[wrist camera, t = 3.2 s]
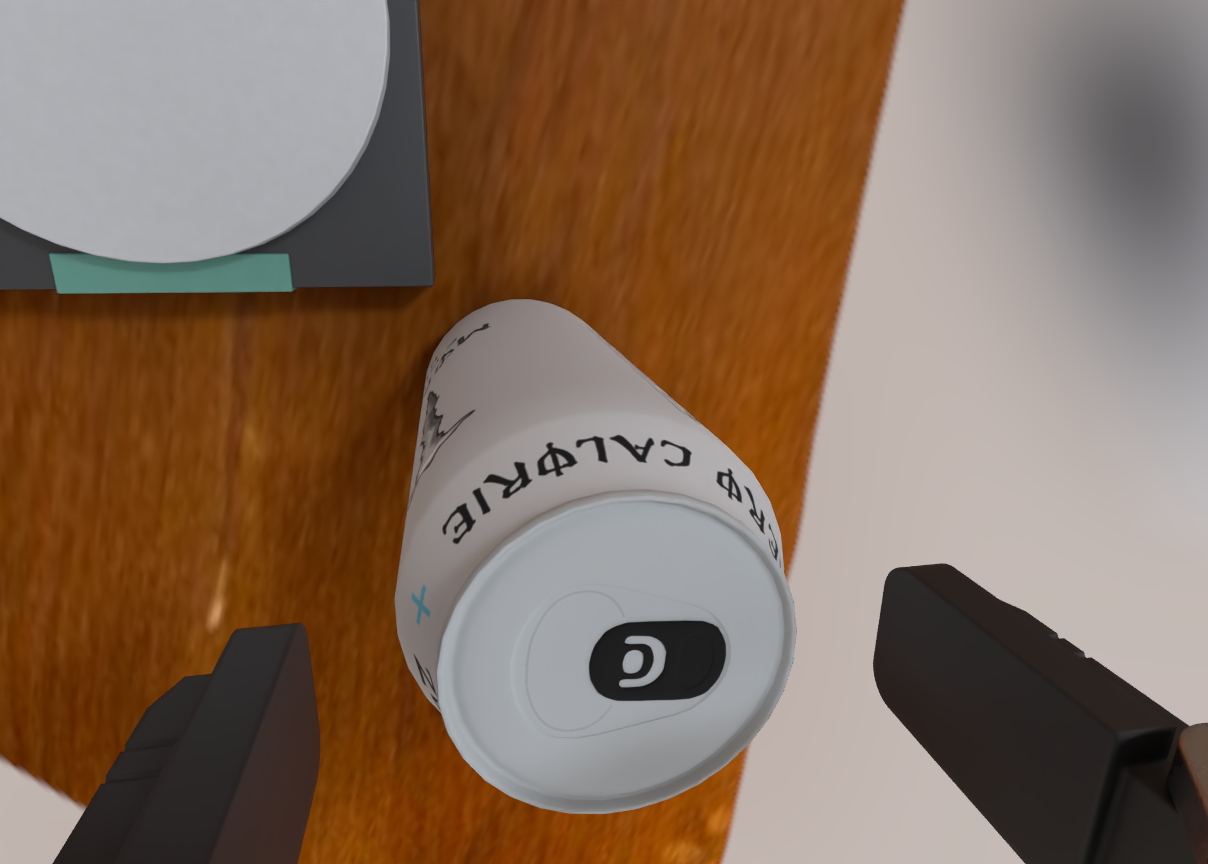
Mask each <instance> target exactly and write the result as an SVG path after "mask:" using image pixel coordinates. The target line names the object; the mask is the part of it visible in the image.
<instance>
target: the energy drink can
mask: <svg viewBox="0 0 1208 864" xmlns="http://www.w3.org/2000/svg"><path fill="white" fill-rule="evenodd" d="M395 610H396V622H397V634H398V638H399V641H400V644H401V647H402V650H403V653H404V656H405V659H406V662H407V665H408V668H409V670H410V671H411V673H412V675H413V676H414V678H415V680H416V681H417V683H418V684H419V686H420V688H421V689H422V691H423V693H424V694H425V696H426V697H427V699H428V700H429V701H430V702H431V703H432V704H433V705H434V706H435V707H436V708H437V709H438V710H439V711H440V712H441V714H442V718H443V721H444V724H445V727H446V730H447V733H448V734H449V736H450V738H451V739H452V741H453V743H454V744H455V746H456V748H457V749H458V751H459V752H460V754H461V756H462V757H463V759H464V760H465V761H466V762H467V763H468V764H469V765H470V766H471V767H472V768H473V769H474V770H475V771H476V772H477V773H478V774H479V775H480V776H481V777H482V778H483V779H484V780H485V781H487V782H489V783H490V784H492V785H493V786H495V787H496V788H498V789H500V790H501V791H503V792H504V793H506V794H507V795H509V796H511V797H513V798H515V799H518V800H521V801H523V802H526V803H529V804H531V805H534V806H537V807H539V808H543V809H549V810H554V811H560V812H566V813H571V814H607V813H613V812H620V811H626V810H632V809H638V808H641V807H644V806H647V805H651V804H654V803H657V802H660V801H663V800H667V799H669V798H671V797H674V796H676V795H678V794H680V793H682V792H684V791H686V790H688V789H690V788H692V787H694V786H696V785H698V784H700V783H701V782H703V781H704V780H706V779H707V778H708V777H710V776H711V775H713V774H714V773H716V772H717V771H719V770H720V769H722V768H723V767H725V766H726V765H727V764H728V763H729V762H730V761H731V760H732V759H733V758H735V757H736V756H737V755H738V754H739V753H740V752H741V751H742V750H743V749H744V748H745V747H746V746H747V745H748V744H750V742H751V741H752V740H753V738H754V737H755V736H756V735H757V733H758V732H759V731H760V729H761V728H762V727H763V725H764V724H765V723H766V722H767V720H768V719H769V718H770V716H771V714H772V712H773V710H774V708H775V707H776V704H777V703H778V701H779V699H780V697H781V695H782V693H783V692H784V688H785V686H786V683H787V680H788V677H789V674H790V671H791V667H792V664H793V660H794V651H795V643H796V633H797V628H796V619H795V608H794V601H793V598H792V595H791V592H790V589H789V586H788V583H787V580H786V577H785V574H784V564H783V554H782V544H781V534H780V530H779V527H778V524H777V521H776V518H775V515H774V512H773V509H772V506H771V503H770V500H769V499H768V497H767V495H766V494H765V492H764V491H763V489H762V487H761V486H760V484H759V482H758V481H757V479H756V477H755V476H754V474H753V472H752V471H751V470H750V469H749V468H748V467H747V466H746V465H745V464H744V463H743V462H742V461H741V460H740V459H739V458H738V457H737V456H736V455H735V454H734V453H733V452H732V451H731V450H730V449H729V448H728V447H727V446H726V445H725V444H724V443H722V442H721V441H720V440H719V439H718V438H717V437H716V436H714V435H713V434H712V433H711V432H710V431H709V430H708V429H706V428H705V427H704V426H703V425H702V424H701V423H700V422H698V421H697V420H696V419H695V418H694V417H693V416H692V415H690V414H689V413H688V412H687V411H686V410H685V409H683V408H682V407H681V406H680V405H679V404H678V403H677V402H675V401H674V400H673V399H672V398H671V397H670V396H669V395H667V394H666V393H665V392H664V391H663V390H662V389H661V388H659V387H658V386H657V385H656V384H655V383H654V382H653V381H651V380H650V379H649V378H648V377H647V376H646V375H645V374H643V373H642V372H641V371H640V370H639V369H638V368H637V367H635V366H634V365H633V364H632V363H631V362H630V361H629V360H627V359H626V358H625V357H624V356H623V355H622V354H621V353H619V352H618V351H617V350H616V349H615V348H614V347H612V346H611V345H610V344H609V343H608V342H607V341H606V340H604V339H603V338H602V337H601V336H600V335H599V334H598V333H596V332H595V331H594V330H593V329H592V328H591V327H590V326H588V325H587V324H586V323H585V322H584V321H583V320H581V319H580V318H578V317H577V316H575V315H574V314H572V313H571V312H569V311H568V310H565V309H563V308H561V307H558V306H556V305H553V304H551V303H547V302H542V301H537V300H532V299H511V300H506V301H501V302H497V303H492V304H490V305H487V306H485V307H482V308H480V309H478V310H475V311H473V312H472V313H470V314H469V315H468V316H466V317H465V318H463V319H462V320H460V321H459V322H457V323H456V324H455V325H454V327H453V328H452V329H451V330H450V331H449V332H448V333H447V334H446V335H445V336H444V337H443V339H442V340H441V342H440V343H439V345H438V347H437V348H436V350H435V351H434V353H433V356H432V358H431V361H430V364H429V367H428V369H427V374H426V380H425V387H424V394H423V401H422V408H421V415H420V422H419V429H418V436H417V444H416V451H415V458H414V465H413V472H412V479H411V486H410V493H409V500H408V507H407V515H406V522H405V529H404V536H403V543H402V550H401V557H400V564H399V571H398V579H397V586H396V593H395Z"/></svg>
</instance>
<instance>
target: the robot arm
mask: <svg viewBox="0 0 1208 864" xmlns="http://www.w3.org/2000/svg"><path fill="white" fill-rule="evenodd" d="M873 670H874V677H875V681H876V684H877V688H878V690H879V693H880V695H881V697H882V699H883V701H884V702H885V704H886V705H887V706H888V708H890V710H891V711H892V712H893V713H894V714H895V716H896V717H897V718H898V719H899V720H900V721H901V722H902V724H903V725H904V726H905V727H906V728H907V729H908V730H909V731H910V733H911V734H912V735H913V736H914V737H915V738H916V739H917V741H918V742H919V743H920V744H921V745H922V746H923V748H924V749H925V750H926V751H927V752H928V753H929V754H930V755H931V757H932V758H933V759H934V760H935V761H936V762H937V763H938V765H939V766H940V767H941V768H942V769H943V770H944V771H945V773H946V774H947V775H948V776H949V777H950V778H951V779H952V781H953V782H954V783H955V784H956V785H957V786H958V787H959V788H960V790H961V791H962V792H963V793H964V794H965V795H966V796H967V798H968V799H969V800H970V801H971V802H972V803H973V805H975V807H976V808H977V809H978V810H979V811H980V812H981V814H982V815H983V816H984V817H985V818H986V819H987V820H988V821H989V823H990V824H991V825H992V826H993V827H994V828H995V830H996V831H997V832H998V833H999V834H1000V835H1001V836H1002V838H1003V839H1004V840H1005V841H1006V842H1007V843H1008V844H1009V845H1010V846H1011V848H1012V849H1013V850H1014V851H1015V852H1016V853H1017V855H1018V856H1019V857H1020V858H1021V859H1022V860H1023V862H1024V863H1025V864H1208V723H1201V724H1195V725H1192V726H1189V725H1187V724H1186V723H1184V722H1183V721H1181V720H1180V719H1179V718H1177V717H1175V716H1174V715H1173V714H1171V713H1170V712H1169V711H1167V710H1166V709H1164V708H1163V707H1161V706H1160V705H1159V704H1157V703H1156V702H1154V701H1152V700H1151V699H1150V698H1149V697H1147V696H1146V695H1144V694H1143V693H1141V692H1140V691H1139V690H1137V689H1136V688H1134V687H1133V686H1131V685H1130V684H1129V683H1127V682H1126V681H1124V680H1123V679H1121V678H1120V677H1118V676H1117V675H1116V674H1114V673H1113V672H1111V671H1110V670H1109V669H1107V668H1106V667H1104V666H1103V665H1102V664H1100V663H1099V662H1097V661H1095V660H1094V659H1093V658H1086V657H1085V655H1084V652H1083V651H1081V650H1080V649H1079V648H1077V647H1076V646H1074V645H1073V644H1071V643H1070V642H1069V641H1067V640H1066V639H1064V638H1062V639H1059V638H1058V635H1057V633H1056V632H1054V631H1053V630H1052V629H1050V628H1049V627H1047V626H1046V625H1044V624H1043V623H1042V622H1040V621H1039V620H1037V619H1036V618H1034V617H1033V616H1032V615H1030V614H1029V613H1027V612H1026V611H1024V610H1021V609H1019V608H1017V607H1015V606H1012V605H1010V604H1008V603H1006V602H1003V601H1001V600H999V599H998V598H996V597H995V596H993V595H992V594H991V593H989V592H988V591H986V590H985V589H984V588H982V587H981V586H979V585H978V584H976V583H975V582H974V581H972V580H971V579H969V578H968V577H967V576H965V575H964V574H962V573H961V572H960V571H958V570H957V569H956V568H954V567H952V566H951V565H948V564H933V565H921V566H911V567H900V568H895V569H893V570H892V571H891V572H890V573H889V574H888V576H887V578H886V581H885V585H884V592H883V599H882V605H881V612H880V619H879V625H878V632H877V640H876V646H875V652H874V660H873ZM319 759H320V731H319V721H318V713H317V706H316V698H315V690H314V682H313V675H312V667H311V659H310V651H309V643H308V637H307V632H306V629H305V627H304V625H303V624H302V623H294V624H283V625H273V626H262V627H252V628H241V629H236V630H235V631H234V632H233V633H232V635H231V637H230V639H229V641H228V643H227V645H226V646H225V648H224V650H223V652H222V654H221V656H220V658H219V660H218V662H217V664H216V666H215V668H214V670H213V672H212V674H207V675H197V676H188V677H184V678H183V679H182V680H181V681H179V682H178V683H177V684H176V685H175V686H173V687H172V688H171V689H170V690H169V691H167V692H166V693H165V694H164V695H163V696H162V697H160V698H159V699H158V700H157V701H156V702H154V703H153V704H152V705H151V706H150V707H148V708H147V710H146V711H145V713H144V715H143V716H142V718H141V719H140V721H139V723H138V724H137V726H136V728H135V729H134V731H133V733H132V734H131V736H130V738H129V739H128V741H127V742H126V744H125V751H124V752H120V754H119V756H118V757H117V759H116V760H115V762H114V764H113V765H112V767H111V769H110V770H109V772H108V774H107V775H106V783H105V784H101V785H100V787H99V788H98V790H97V792H96V793H95V795H94V797H93V798H92V800H91V802H90V803H89V805H88V806H87V808H86V810H85V811H84V813H83V815H82V816H81V818H80V820H79V821H78V823H77V824H76V826H75V828H74V830H73V831H72V833H71V834H70V836H69V838H68V839H67V841H66V843H65V844H64V846H63V848H62V849H61V851H60V853H59V854H58V856H57V857H56V859H55V861H54V863H53V864H297V863H298V859H299V855H300V851H301V846H302V842H303V838H304V834H305V829H306V825H307V821H308V817H309V812H310V808H311V804H312V800H313V795H314V791H315V787H316V782H317V777H318V770H319Z"/></svg>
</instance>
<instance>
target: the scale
mask: <svg viewBox="0 0 1208 864" xmlns="http://www.w3.org/2000/svg"><path fill="white" fill-rule="evenodd" d="M434 281H435V266H434V248H433V231H432V213H431V196H430V178H429V160H428V143H427V125H426V108H425V90H424V73H423V55H422V38H421V20H420V3H419V0H0V290H26V289H57V293H59V294H87V293H208V292H292V291H294V290H295V289H297V288H305V287H432V286H433V285H434Z"/></svg>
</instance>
